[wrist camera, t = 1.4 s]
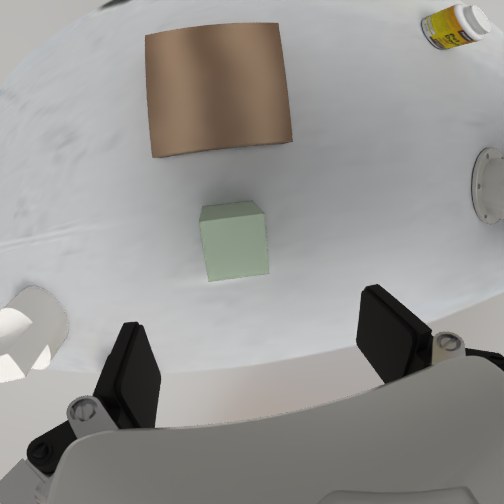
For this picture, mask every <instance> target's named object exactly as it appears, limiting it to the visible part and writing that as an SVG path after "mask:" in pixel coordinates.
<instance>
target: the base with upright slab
mask: <svg viewBox="0 0 504 504" xmlns="http://www.w3.org/2000/svg"><path fill="white" fill-rule="evenodd" d="M68 331H69V324H68V320H67V316H66V314H65V312H64V310H63V308H62V306H61V305H60V304H59V302H58V301H57V300H56V299H55V298H54V297H53V296H52V295H51V294H50V293H49V292H47V291H46V290H44V289H42V288H40V287H37V286H29V287H26V288H25V289H24V290H22V291H21V292H20V293H19V294H18V295H17V296H16V297H15V298H13V299H12V300H11V301H10V302H9V303H8V304H7V305H6V306H5V307H4V308H3V309H2V310H1V311H0V383H2V382H7V381H11V380H15V379H20V378H25V377H26V376H27V374H28V373H29V371H30V369H31V368H32V369H37V370H40V369H45V368H46V367H48V365H49V364H50V362H51V360H52V359H53V357H54V356H55V354H56V353H57V351H58V349H59V348H60V346H61V345H62V343H63V342H64V340H65V339H66V337H67V335H68Z"/></svg>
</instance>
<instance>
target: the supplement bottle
mask: <svg viewBox="0 0 504 504" xmlns="http://www.w3.org/2000/svg"><path fill="white" fill-rule="evenodd" d="M422 28H423V31H424V33H425V35H426V37H427V38H428V40H429V41H430V42H431V43H432V44H433V45H434V46H436V47H437V48H439V49H443V50H445V49H449V48H453V47H456V46H460V45H464V44H468V43H472V42H477V41H480V40H482V38H483V34H486V33H489V32H491V26H490V23H489V21H488V19H487V17H486V16H485V14H484V13H483V12H482V11H481V9H479V8H478V7H477V6H475V5H472V6H468V7H466V6H464V5H462V4H457V5H454V6H451V7H449V8H447V9H444V10H442V11H439V12H437V13H435V14H433V15H430V16H428V17H426V18H424V19H423V21H422Z"/></svg>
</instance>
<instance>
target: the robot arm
mask: <svg viewBox="0 0 504 504" xmlns="http://www.w3.org/2000/svg"><path fill="white" fill-rule="evenodd" d="M472 196H473V203H474V207H475V210H476V213H477V215H478V217H479V218H480V219H481V220H482V221H483V222H485V223H488V224H494V223H496V222H498V221H499V220H500V219H504V156H503V155H502V153H501V152H500V151H499V150H497V149H495V148H486V149H485V150H483V151H482V152H481V154H480V155H479V157H478V159H477V161H476V164H475V168H474V172H473V179H472ZM431 332H432V330H431V329H430V328H429V327H428V326H427V325H426V324H425V323H424V322H422V321H421V320H420V319H419V318H418V317H417V316H416V315H414V314H413V313H412V312H411V311H410V310H409V309H407V308H406V307H405V306H404V305H403V304H402V303H400V302H399V301H398V300H397V299H396V298H394V297H393V296H392V295H391V294H390V293H388V292H387V291H386V290H385V289H384V288H382V287H381V286H380V285H378V284H375V285H370V286H366V287H365V289H364V290H363V291H362V293H361V302H360V312H359V321H358V329H357V337H356V343H357V346H358V348H359V349H360V350H361V352H362V353H363V354H364V356H365V357H366V358H367V360H368V361H369V362H370V364H371V365H372V366H373V368H374V369H375V371H376V372H377V373H378V375H379V376H380V378H381V379H382V380H383V382H384V383H385V384H384V385H381V386H378V387H375V388H373V389H370V390H367V391H364V392H361V393H358V394H355V395H352V396H349V397H345V398H342V399H338V400H335V401H331V402H328V403H324V404H320V405H317V406H313V407H308V408H304V409H300V410H296V411H291V412H286V413H282V414H277V415H271V416H266V417H260V418H255V419H248V420H241V421H234V422H227V423H218V424H208V425H197V426H184V427H165V428H155V420H156V412H157V405H158V397H159V391H160V384H161V374H160V371H159V368H158V366H157V363H156V360H155V358H154V355H153V352H152V350H151V347H150V344H149V341H148V338H147V335H146V332H145V329H144V327H143V325H139V323H138V322H127V323H124V324H123V326H122V328H121V330H120V333H119V335H118V337H117V340H116V342H115V344H114V347H113V349H112V351H111V354H110V355H109V356H108V358H107V360H106V362H105V365H104V367H103V370H102V372H101V375H100V377H99V380H98V383H97V385H96V388H95V390H94V393H93V396H88V395H87V396H81V397H79V398H76V399H75V400H74V401H72V402H71V403H70V404H69V406H68V408H67V413H66V414H67V418H68V420H67V421H65V422H64V423H62V424H60V425H59V426H57V427H55V428H53V429H52V430H50V431H48V432H46V433H45V434H43V435H41V436H39V437H38V438H36V439H35V440H33V441H32V442H31V443H30V444H29V446H28V449H27V458H28V459H27V460H26V461H25V460H24V459H21V460H20V461H19V462H18V463H17V465H16V466H15V467H13V468H12V469H11V471H9V473H8V474H6V475H5V476H4V478H3V479H2V480H1V481H0V503H1V504H504V357H503V356H502V355H501V354H499V353H495V352H488V351H481V350H475V349H468V348H465V344H464V341H463V339H462V338H461V337H460V336H458V335H457V334H455V333H452V332H440V333H438V334H436V335H435V336H434V337H433V336H432V335H431Z"/></svg>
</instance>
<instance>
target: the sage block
mask: <svg viewBox="0 0 504 504" xmlns="http://www.w3.org/2000/svg"><path fill="white" fill-rule="evenodd" d="M199 224H200V230H201V237H202V244H203V250H204V257H205V263H206V269H207V275H208V281H209V282H212V281H219V280H226V279H234V278H241V277H248V276H255V275H262V274H269V262H268V249H267V237H266V225H265V214H264V212H263V211H262V210H261V209H260V208H259V207H258V206H257V205H256V204H255V203H254V202H253V201H244V202H236V203H228V204H220V205H212V206H205V207H202V212H201V216H200V221H199Z"/></svg>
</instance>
